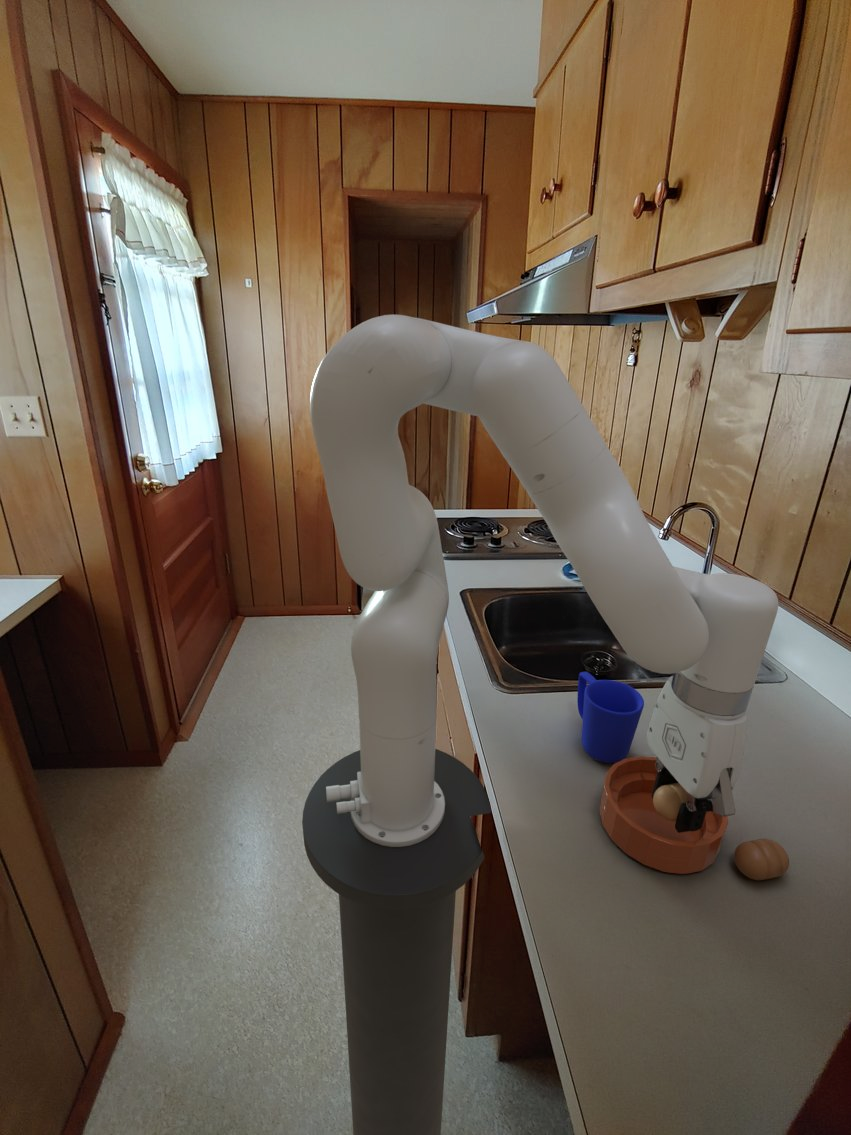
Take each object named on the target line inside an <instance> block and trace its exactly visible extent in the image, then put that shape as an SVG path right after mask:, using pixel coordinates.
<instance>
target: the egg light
mask: <svg viewBox="0 0 851 1135" xmlns="http://www.w3.org/2000/svg"><path fill="white" fill-rule="evenodd" d="M686 798H687V791H686V790H685V789H684V788H683V787H682V786H681V785H680V784H679V783H674V784H668V785H663V786H661V787H659V788H658V789H657V790H656V792H655V793H654V797H653V803H654V807H655V809H656V811H657V812H658V813H659V814H660V815H661V816H662V817H663V818H665V819H667V820H670V821H676V820H677V816H678V813H679V809H680V806H681V804H682V803H686Z"/></svg>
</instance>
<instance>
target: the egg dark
mask: <svg viewBox="0 0 851 1135" xmlns="http://www.w3.org/2000/svg"><path fill="white" fill-rule="evenodd" d="M733 857H734V862H735V865H736V867H737V868H738V870H739V871H740V872H741V874H743V875H744V876H745V877H747V878H748V879H751V880H753V881H754V880H755V881H765V880H770V879H773V878H779V877H781V876H783V875H784V874H786V873H787V871H788V869H789V866H790V859H789V855H788V853H787V851H786V849H784V847H783V846H782V844H780V843H778V842H777V841H776V840H773V839H770V838H757V839H752V840H746V841H744V842H741V843H739V844H738V845H737V846H736V848H735V850H734V853H733Z"/></svg>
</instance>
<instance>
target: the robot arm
mask: <svg viewBox="0 0 851 1135" xmlns="http://www.w3.org/2000/svg"><path fill="white" fill-rule="evenodd" d="M574 390H575V389H574V388H573V386H572V385H571V384H570V381H569V380H568V378H567V377H566V376H565V373H564V372H563V370H562V369H561V367H560V366H559V364H558V362H557V361H556V359H555V358H554V357H553V355H552V354H551V353H549V352H548V351H547V350H546V349H545V348H544V347H543V346H541V345H540V344H537V343H534V342H531V341H528V340H520V339H514V338H508V337H502V336H499V335H493V334H488V333H483V332H479V331H475V330H470V329H466V328H462V327H457V326H453V325H450V324H445V323H441V322H437V321H433V320H429V319H425V318H421V317H413V316H409V315H405V314H384V315H383V314H382V315H380V316H375V317H372V318H370V319H367V320H365V321H363V322H361V323H359V324H357V325H356V326H354V327H353V328H351V329H350V330H349V331H347V332H346V333H344V335H342V336H341V337H340V338H339V339H338V340H337V341H336V342H335V343H334V344H333V345H332V346H331V347H330V348H329V350H328V351H327V352H326V354H325V355H324V357H323V358H322V360H321V362H320V363H319V365H318V367H317V369H316V372H315V374H314V378H313V381H312V385H311V388H310V396H309V414H310V423H311V428H312V433H313V437H314V441H315V445H316V450H317V453H318V458H319V461H320V462H319V463H320V465H321V470H322V475H323V480H324V484H325V492H326V495H327V499H328V505H329V508H330V513H331V518H332V521H333V522H332V523H333V526H334V531H335V535H336V539H337V540H336V541H337V545H338V550H339V554H340V558H341V561H342V563H343V567H344V569H345V570H346V571H347V574H348V575H349V577H350V578H351V579H352V580H353V581H354V582H355V583H356V584H357V585H358V586H360V587H362V588H364V589H366V590H367V591H368V590H369V591H372V592H373V593H372V595H371V596H370V597H369V599H368V601H367V602H366V604H365V606H364V608H363V609H362V610H361V613H360V615H359V617H358V618H357V621H356V623H355V626H354V628H353V629H354V630H353V632H352V638H351V644H350V653H351V661H352V665H353V670H354V675H355V681H356V689H357V704H358V705H357V706H358V720H359V721H358V722H359V724H358V725H359V726H358V727H359V750H360V757H361V772H357V780H355V781H350V784H349V785H342V786H339V785H335V786H328V787H326V795H327V802H332V801H339V800H341V799H348V798H351V801H348V802H346V801H344V802H337V814H340V813H347V812H351V819H352V821H353V823H354V826H355V827H356V829H357V830H358V831H359V833H361V834H362V835H363V836H364V837H365V838H367V839H368V840H370V841H372V842H374V843H377V844H380V845H383V846H389V847H404V846H410V845H413V844H416V843H419V842H421V841H423V840H425V839H427V838H428V837H429V836H431V835H432V834H433V833H434V832H435V831H436V830H437V829H438V827H439V826H440V824H441V822H442V820H443V817H444V813H445V799H444V795H443V792H442V790H441V788H440V787H439V785H438V784H437V783H436V782H435V781H434V774H435V749H436V746H437V745H436V744H437V719H438V718H437V716H438V715H437V712H438V711H437V706H438V680H437V664H438V652H439V646H440V641H441V637H442V634H443V630H444V625H445V622H446V618H447V615H448V610H449V604H450V592H449V584H448V579H447V578H448V577H447V572H446V565H445V559H444V554H443V548H442V541H441V534H440V529H439V523H438V519H437V515H436V512H435V510H434V507H433V505H432V503H431V501H430V500H429V498H428V497H427V496H426V495H425V494H424V493H423V492H422V491H421V490H419V489H418V488H416V487H415V486H414V485H411V484H410V483H409V477H408V468H407V461H406V457H405V452H404V449H403V446H402V443H401V440H400V436H399V424H400V420H401V418H402V417H403V416H404V415H405V414H407V412H409V411H411V410H413V409H416V408H417V407H419V406H421V405H423V404H424V405H428V406H433V407H436V408H441V409H444V410H449V411H453V412H457V413H462V414H466V415H470V416H474V417H478V419H479V421H480V422H481V424H482V426H483V428H484V429H485V431H486V432H487V434H488V436H489V437H490V438H491V440H492V441H493V443H494V444H495V446H496V447H497V449H498V450H499V452H500V453H501V455H502V457H503V458H504V459H505V461H506V463H507V464H508V465H509V467H510V468H511V470H512V471H513V473H514V474H515V476H516V478H517V479H518V481H519V482H520V484H521V485H522V487H523V489H524V490H525V492H526V493H527V495H528V496H529V498H530V499H531V501H532V502H533V504H534V505H535V507H536V509H537V510H538V512H539V514H540V515H541V516H542V518H543V520H544V522H545V523H546V525H547V527H548V529H549V531H550V533H551V535H552V536H553V538H554V540H555V542H556V543H557V545H558V547H559V549H560V550H561V551H562V553H563V554H564V556H565V557H566V559H567V560H568V562H569V564H570V565H571V567H572V569H573V571H574V572H575V574H576V575H577V577H578V579H579V581H580V582H581V584H582V586H583V588H584V589H585V591H586V593H587V594H588V596H589V599H590V600H591V602H592V603H593V605H594V606H595V608H596V609H597V611H598V613H599V614H600V616H601V617H602V619H603V620H604V622H605V624H606V625H607V626H608V628H609V629H610V631H611V632H612V634H613V636H614V637H615V639H616V640H617V642H618V643H619V645H620V646H621V648H622V649H623V650H624V652H625V653H626V655H627V656H628V658H630V659H631V660H632V661H633V662H635V664H636V665H638V666H640V667H641V668H643V669H645V670H647V671H649V672H653V673H658V674H666V675H671V674H673V675H671V676H670V677H669V678H667V680H666V681H665V684H664V685H663V687H662V689H661V691H660V692H659V695H658V698H657V699H656V702H655V704H654V708H653V711H652V714H651V718H650V720H649V724H648V728H647V733H646V742H647V744H648V746H649V748H650V750H651V751H652V752H653V754H654V755H655V756H656V758H657V761H656V763H655V768H656V770H657V771H658V772H659V773H658V774H657V776H656V780H655V784H654V788H653V792H652V796H651V797H652V798H653V797H654V793H655V792H656V790H657V789H658V788H659V787H661V786H663V785H668V784H674V783H679V784H680V785H681V786H682V787H683V788H684V789H685V790H686V791H687V798H686V803H682V804H681V806H680V809H679V813H678V816H677V820H676V823H675V829H676V830H677V832H678V833H681V832H687V831H697V830H699V829H700V828H701V827H702V825H703V822H704V818H705V815H706V812H709V811H711V812H713V813H714V814H717V815H720V816H723V817H725V816H728V817H730V816H731V817H732V816H735V815H736V808H735V801H734V797H733V790H734V788H735V786H736V783H737V781H738V778H739V774H740V770H741V768H742V763H743V758H744V754H745V749H746V742H747V735H748V722H749V721H748V720H749V719H748V718H749V717H748V715H747V714H746V712H747V709H748V706H749V703H750V701H751V697H752V694H753V690H754V688H755V683H756V681H757V677H758V674H759V671H760V668H761V665H762V662H763V659H764V655H765V652H766V649H767V646H768V642H769V639H770V636H771V633H772V630H773V627H774V624H775V620H776V618H777V614H778V610H779V598H778V596H777V594H776V592H775V591H774V590H773V589H772V588H771V587H770V586H769V585H767V584H766V583H764V582H762V581H760V580H757V579H754V578H753V577H748V576H745V575H740V574H734V573H726V572H725V573H719V572H718V573H712V574H711V573H709V574H708V573H703V572H699V571H694V570H690V569H685V568H682V567H677V566H674V565H673V564H672V563H671V561H670V558H668V556H667V554H666V552H665V551H664V549H663V547H662V546H661V543H660V542H659V540H658V539H657V536H656V535H655V533H654V531H653V530H652V529H653V528H652V527H651V525H650V524H649V521H648V520H647V518H646V516H645V514H644V511H643V510H642V508H641V505H640V502H639V500H638V498H637V496H636V494H635V492H634V490H633V488H632V485H631V484H630V482H629V481H628V479H627V477H626V475H625V473H624V472H623V469H622V468H621V466H620V465H619V463H618V461H617V460H616V458H615V456H614V455H613V453H612V452H611V450H610V449H609V446H608V445H607V443H606V442H605V440H604V439H603V437H602V435H601V434H600V432H599V430H598V429H597V427H596V425H595V424H594V422H593V420H592V418H591V417H590V415H589V413H588V412H587V410H586V409H585V407H584V405H583V403H582V402H581V400H580V399H579V396H578V395H577V394H576V391H574Z"/></svg>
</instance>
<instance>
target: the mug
mask: <svg viewBox="0 0 851 1135" xmlns="http://www.w3.org/2000/svg"><path fill="white" fill-rule="evenodd" d="M577 682H578V683H577V697H576V698H577V699H576V700H577V701H576V702H577V710H578V714H579V717H580V718H581V720H582V724H581V738H580V739H581V745H582V747H583V750H584V751H585V752H586V754H587V755H588V756H590V757H591V758H593V759H594V760H596V761H598V762H602V763H606V764H615V763H617V762H619V761H621V760H623V759H626V758H627V756H628V754H629V752H630V750H631V746H632V744H633V741H634V738H635V734H636V731H637V729H638V725H639V722H640V718H641V716H642V713H643V710H644V707H645V700H644V697H643V695H642V694H641V692H639V691H638V690H637V689H635V688H634V687H632V686H630V685H629V684H627V683H623V682H621V681H619V680H612V679H598V680H597V679H596V678H595V677H594V676H593V675H592V674H591V673H590V672H588V671H581V672H579V674H578V681H577Z"/></svg>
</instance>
